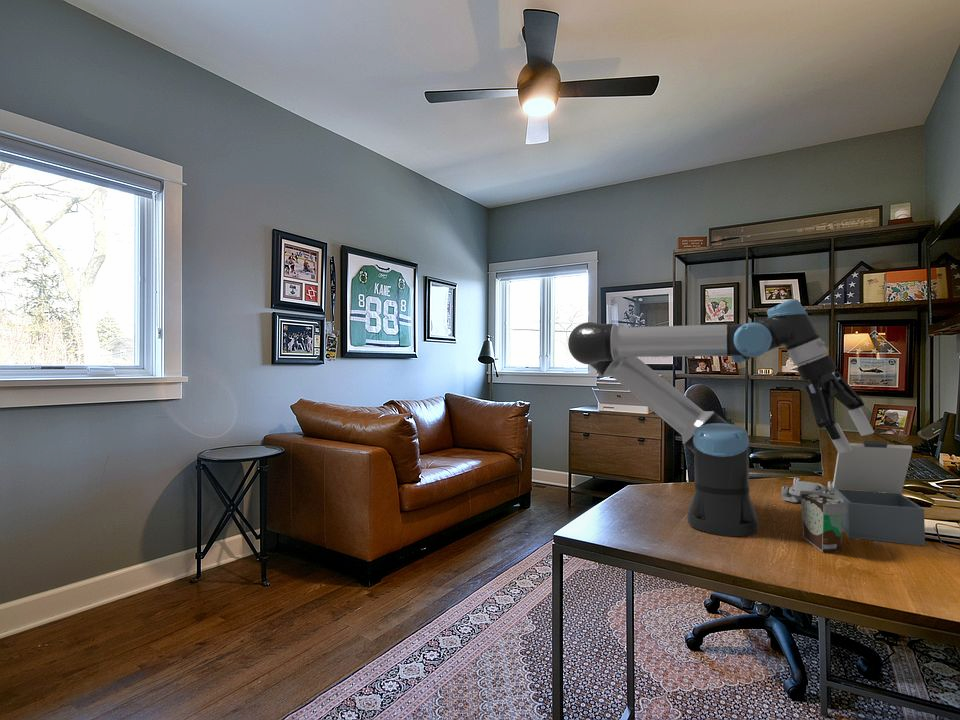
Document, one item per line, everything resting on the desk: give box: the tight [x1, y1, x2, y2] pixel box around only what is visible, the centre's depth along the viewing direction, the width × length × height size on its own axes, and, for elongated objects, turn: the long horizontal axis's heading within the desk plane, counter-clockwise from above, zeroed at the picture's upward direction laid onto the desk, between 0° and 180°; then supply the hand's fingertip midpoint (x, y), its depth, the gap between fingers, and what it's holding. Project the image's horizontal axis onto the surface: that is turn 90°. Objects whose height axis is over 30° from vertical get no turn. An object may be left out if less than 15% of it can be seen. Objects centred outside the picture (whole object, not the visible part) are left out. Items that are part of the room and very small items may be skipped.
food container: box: [800, 491, 847, 554], centre depth 107 cm, size 12×6×10 cm, turn 168°
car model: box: [780, 477, 834, 504], centre depth 146 cm, size 11×24×5 cm, turn 140°
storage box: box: [833, 489, 926, 546], centre depth 115 cm, size 13×14×8 cm
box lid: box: [832, 440, 913, 494], centre depth 118 cm, size 13×15×1 cm
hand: (857, 442), depth 120 cm, fingers open, 13 cm apart
